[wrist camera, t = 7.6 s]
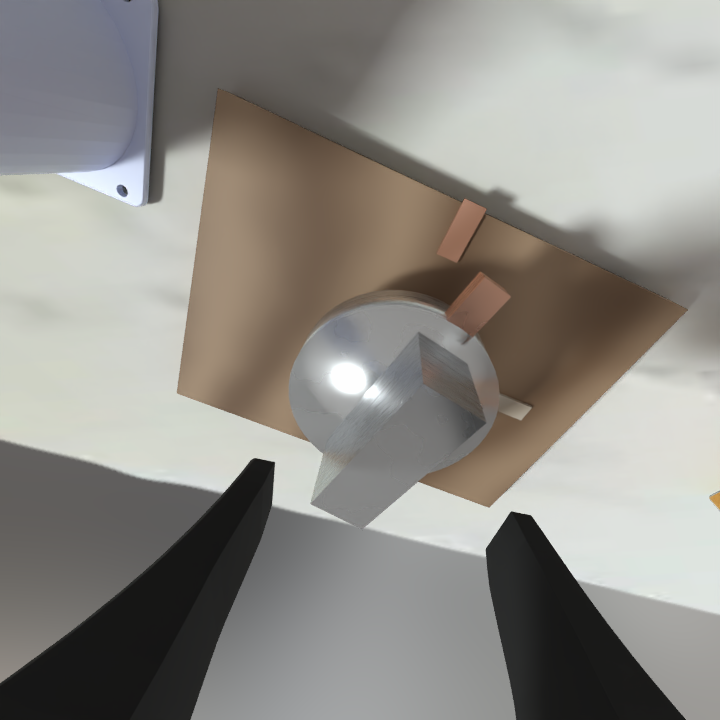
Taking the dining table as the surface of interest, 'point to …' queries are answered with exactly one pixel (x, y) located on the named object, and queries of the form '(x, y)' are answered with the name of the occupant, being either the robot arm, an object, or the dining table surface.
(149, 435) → the dining table surface
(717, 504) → the small box
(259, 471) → the robot arm
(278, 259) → the post board
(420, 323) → the cap
